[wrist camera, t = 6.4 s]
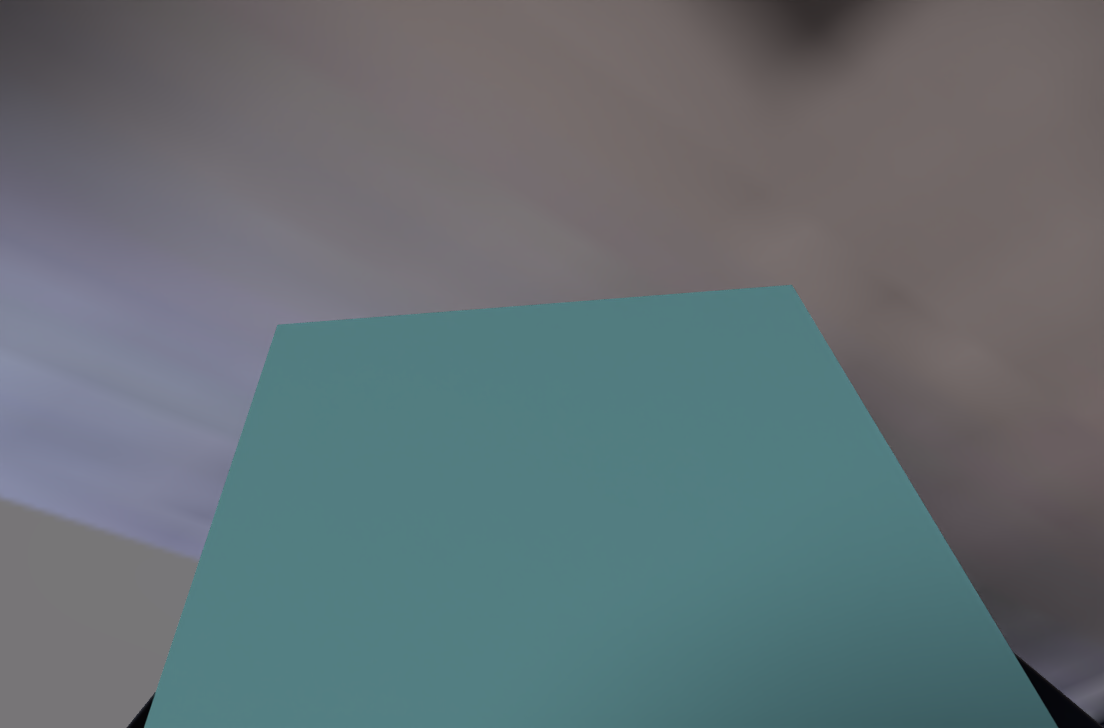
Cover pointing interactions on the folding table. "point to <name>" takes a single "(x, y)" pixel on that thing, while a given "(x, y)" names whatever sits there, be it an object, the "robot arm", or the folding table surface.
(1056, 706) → the robot arm
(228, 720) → the teal block
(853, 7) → the folding table surface
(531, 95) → the folding table surface
